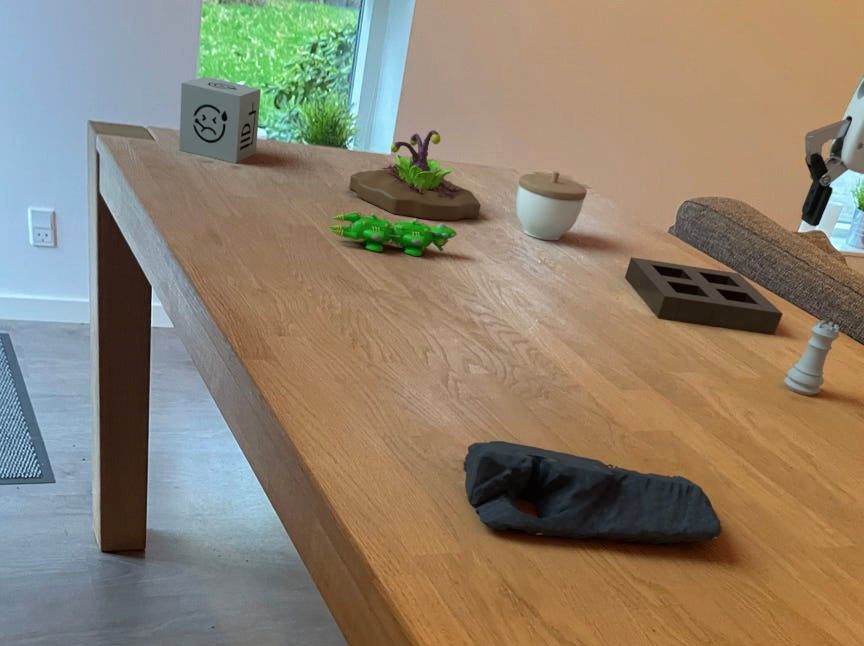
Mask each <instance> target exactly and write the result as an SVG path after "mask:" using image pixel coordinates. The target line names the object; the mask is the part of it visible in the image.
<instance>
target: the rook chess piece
mask: <svg viewBox="0 0 864 646" xmlns="http://www.w3.org/2000/svg"><path fill="white" fill-rule="evenodd" d="M826 323H827V320H822V319H821V320H817V321H816V324H815V325H814V326H812V327H811V328H810V330H811V334H812V336H811V338H810V339H809V340H807V343H808V345H807V347H806V349H805V351H804V353H803V354H802V356H801V357H800V359H799V360H798V361H797V362H796V363H795V364H794V366H793V367H791V368H790V369H788V371H787V377H785V378H783V382H784V386H785V387H786V389H788V390H790V391H792V392H794V393H797V394H800V395H805V396H816V395H817V394H818V393H820V392H821V386H822V385H824V377H823V375H824V366H825V362H826V359H827V356H828V354H829V352H830V350H832V349H833V348H832V344H833V342H834V341H836V340H837V339H839V337H840V334H839V333H840V332H839V330H840V326H839V325H838V324H834V322H832V321H829V322H828V324H826Z"/></svg>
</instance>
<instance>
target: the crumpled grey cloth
mask: <svg viewBox="0 0 864 646" xmlns="http://www.w3.org/2000/svg"><path fill="white" fill-rule="evenodd" d="M467 452H468V453H467V454H466V455H465V457H464V460H465V461H464V462H463V463H462V465H463V468H462V470H464V471H465V481H464V487H465V494H466V496H467V501H468V503H469V504H470V505H471V506H473V507H474V508H475V513H476V514H477V516H478V517H479V518H480V519H479V521H480V522H481V523H482V524H484V525H485V526H486V527H488V528H490V529H493V530H496V531H497V530H498V531H506V530H507V529H510V530H519V531H520V530H521V531H525V532H529V533H531V534H532V535H537V534H541V535H544V536H546V537H553V536H556V537H562V538H569V539H572V540H579V539H580V540H581V539H584V538H595V539H601V540H605V541H620V542H621V543H632V542H634V543H649V544H653V545H659V544H664V545H666V546H669V547H672V546H674V544H681V542H685V543H688V542H693V543H695V542H697V541H700V542H701V541H703V542H712V541H715V540H718V539H719V537H720V535H721V533H722V530H723V528H722V525H721V520H720V519H719V516H718V514H717V513H716V511H715V510H714V508H713V505H712V502H711V500H710V498H709V497H708V495H707V494H706V493H705V492H704V490H703V489H702V487H701V486H700V485H697V483H695V482H694V481H691V480H690V479H688V478H686V477H684V476H681V475H674V476H670V475H664V474H658V473H653V472H650V473H641V472H639V471H637V470H633V469H632V470H631V469H627V468H624V467H619V466H618V465H613V464H610V463H609V464H605V463H604V462H603V461H601V460H598V459H594V458H589V457H584V456H579V455H575V454H571V453H567V452H559V451H556V450H551V449H545V448H541V447H537V446H531V445H526V444H519V443H515V442H508V441H503V440H491V441H489V442H487V441H486V442H476V441H475V442H473V443H472V444H471V445H468V446H467ZM520 498H521V499H524V500H526V501H527V502H532V503H533V504H534V505H536V510H535V511H536V513H537V515H538V517H537V516H534V515H532V514H529V513H525V512H523V511H521V510H520V505H519V503H518V499H520Z"/></svg>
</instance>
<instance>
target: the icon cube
mask: <svg viewBox="0 0 864 646" xmlns="http://www.w3.org/2000/svg"><path fill="white" fill-rule="evenodd" d="M261 92H262V91H261V88H258V87H254V86H248V85H246V84H245V85H244V84H241V83H236V82H231V81H227V80H222V79H218V78H215V77H214V78H213V77H210V76H202V77H201V76H200V77H199V78H194V79H190V80H187V81H183V82H181V87H180V116H179V118H180V120H179V121H180V122H179V147H178V148H179V151H181V152H186V153H191V154H195V155H199V156H203V157H206V158H207V157H208V158H212V159H215V160H216V159H217V160H219V161H220V160H221V161H225V162H229V163H234V164H237V163H240V162H242V161H244V160H246V159H248V158H249V157H252V156H253V155H256V153H257V143H258V131H259V117H260V104H261Z"/></svg>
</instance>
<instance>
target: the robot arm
mask: <svg viewBox="0 0 864 646" xmlns="http://www.w3.org/2000/svg"><path fill="white" fill-rule="evenodd" d="M831 141H832V142H831ZM828 142H831V146H830V150H829V157H827V158H826V159H825V160H824V157H823V156H822V152H823V146H824V145H825V144H826V143H828ZM804 143H805V144H804V147H805V149H804V150H805V159H804V161H805V164H806V166H807V168H808V171H809V177H810V179H811V180H812V183H811V185H810V187H809V190H808V192H807V194H806V197H805V200H804V201H803V204H802V208H801V213H802V214H801V216H800V219H801V220H802V221H803V222H805V223H806V224H808V225H809V226H811V227H817V226H819V225H820V223H821V221H822V219H823V216H824V215H825V211H826V209H827V206H828V204H829V202H830V199H831V196H832V194H833V190H834V188H833V187H832V186H831V184H832V183H833V182H834V181H836V180H837V179H838V178H840V177H841V176H842V175H844V173H846V172H848V171H851V172H854V173H857V174H860V175H861V174H862V175H864V77H863V78H862V80H861V82H860V83H859V85H858V87H857V89H856V90H855V92H854V94H853V96H852V98H851V99H850V102H849V104H848V106H847V108H846V110H845V112H844V115H843V116H842V118H841V120H839V121H837V122H834V123H831V124H828V125H825V126H822V127H819V128H817V129H813V130H811V131H808V132H806V134H805V136H804Z"/></svg>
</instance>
